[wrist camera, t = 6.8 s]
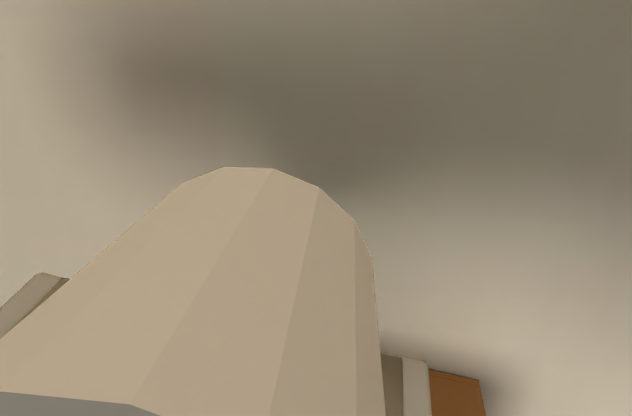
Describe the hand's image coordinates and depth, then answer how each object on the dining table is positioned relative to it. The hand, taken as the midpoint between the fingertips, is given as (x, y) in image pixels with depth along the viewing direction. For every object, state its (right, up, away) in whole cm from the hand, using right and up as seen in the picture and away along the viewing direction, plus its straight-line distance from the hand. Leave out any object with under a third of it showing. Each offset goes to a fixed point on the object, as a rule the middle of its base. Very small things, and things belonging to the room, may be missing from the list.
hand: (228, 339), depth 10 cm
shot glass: (0, +1, +2) cm, 3 cm away
